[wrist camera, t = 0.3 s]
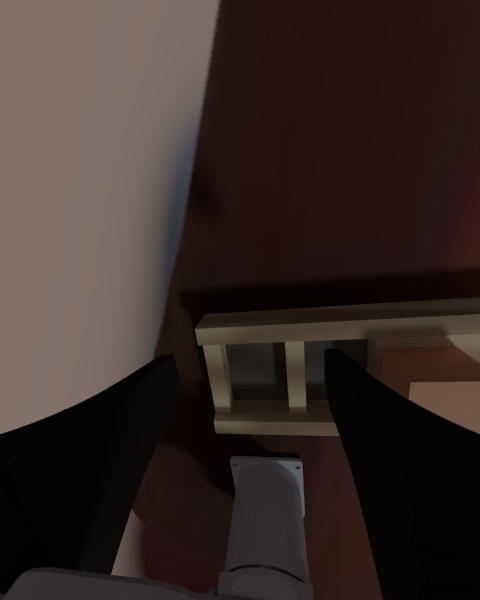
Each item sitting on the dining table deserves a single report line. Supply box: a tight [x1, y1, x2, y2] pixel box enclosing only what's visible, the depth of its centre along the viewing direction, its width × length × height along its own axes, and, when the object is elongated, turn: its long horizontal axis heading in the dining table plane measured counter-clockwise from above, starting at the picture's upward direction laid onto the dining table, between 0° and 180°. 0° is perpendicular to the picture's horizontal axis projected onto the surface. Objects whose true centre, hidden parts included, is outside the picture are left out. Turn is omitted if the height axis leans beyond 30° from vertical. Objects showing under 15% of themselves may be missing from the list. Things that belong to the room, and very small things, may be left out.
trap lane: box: [195, 297, 480, 436], centre depth 20 cm, size 11×30×3 cm, turn 97°
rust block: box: [381, 346, 480, 434], centre depth 17 cm, size 5×5×4 cm
